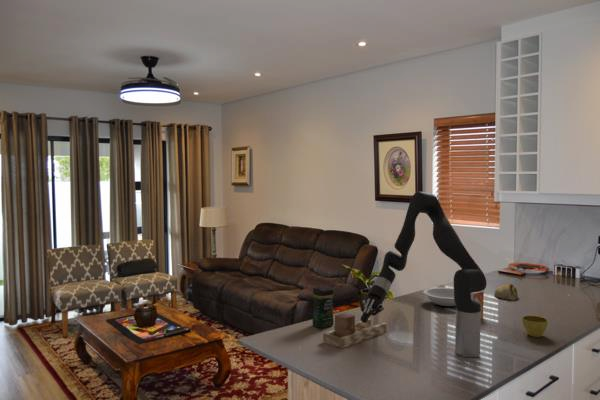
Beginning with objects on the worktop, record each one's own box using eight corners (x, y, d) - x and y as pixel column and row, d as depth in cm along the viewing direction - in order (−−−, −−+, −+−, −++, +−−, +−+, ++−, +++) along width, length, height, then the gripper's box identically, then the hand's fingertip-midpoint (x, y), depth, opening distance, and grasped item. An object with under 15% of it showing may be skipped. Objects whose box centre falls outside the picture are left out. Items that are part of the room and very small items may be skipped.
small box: (473, 320, 227) (473, 293, 227) (462, 316, 233) (462, 290, 232) (483, 317, 232) (484, 291, 231) (472, 314, 237) (473, 288, 236)
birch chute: (368, 326, 218) (368, 318, 218) (386, 331, 210) (386, 323, 210) (323, 342, 197) (323, 333, 197) (341, 348, 190) (341, 339, 190)
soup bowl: (479, 308, 248) (479, 295, 247) (442, 313, 239) (442, 300, 238) (449, 297, 270) (449, 286, 270) (414, 301, 261) (414, 289, 261)
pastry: (521, 301, 262) (522, 286, 262) (498, 300, 263) (498, 286, 263) (513, 294, 276) (513, 281, 276) (491, 294, 277) (491, 280, 277)
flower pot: (516, 332, 208) (516, 316, 208) (533, 330, 212) (534, 314, 212) (535, 340, 199) (535, 323, 199) (552, 337, 203) (553, 320, 202)
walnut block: (344, 334, 203) (344, 312, 203) (354, 338, 199) (355, 315, 198) (334, 337, 199) (334, 315, 199) (345, 341, 195) (345, 318, 194)
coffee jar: (320, 329, 214) (320, 289, 213) (309, 325, 220) (309, 285, 219) (336, 325, 219) (336, 286, 218) (326, 321, 226) (326, 283, 225)
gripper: (364, 282, 217) (347, 313, 209) (388, 286, 208) (371, 320, 200) (371, 291, 221) (355, 322, 213) (395, 296, 212) (378, 329, 204)
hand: (362, 321), depth 207 cm, fingers closed
